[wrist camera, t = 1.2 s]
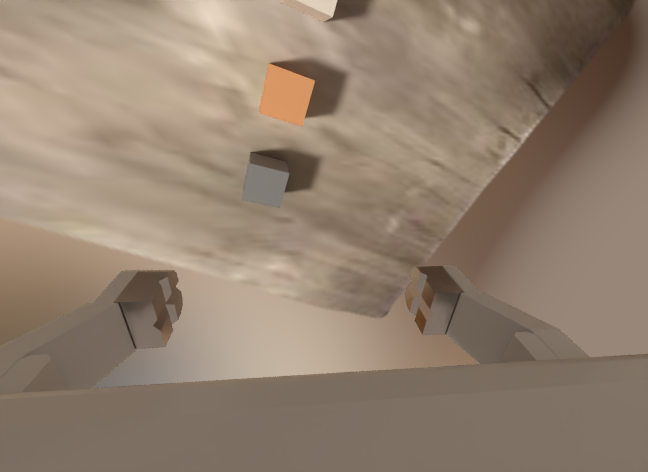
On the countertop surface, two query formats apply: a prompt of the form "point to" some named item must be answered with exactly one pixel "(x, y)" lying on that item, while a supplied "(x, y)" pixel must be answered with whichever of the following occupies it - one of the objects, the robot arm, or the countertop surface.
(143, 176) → the countertop surface
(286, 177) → the charcoal cube
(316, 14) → the offwhite cube
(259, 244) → the countertop surface
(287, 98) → the terracotta cube
